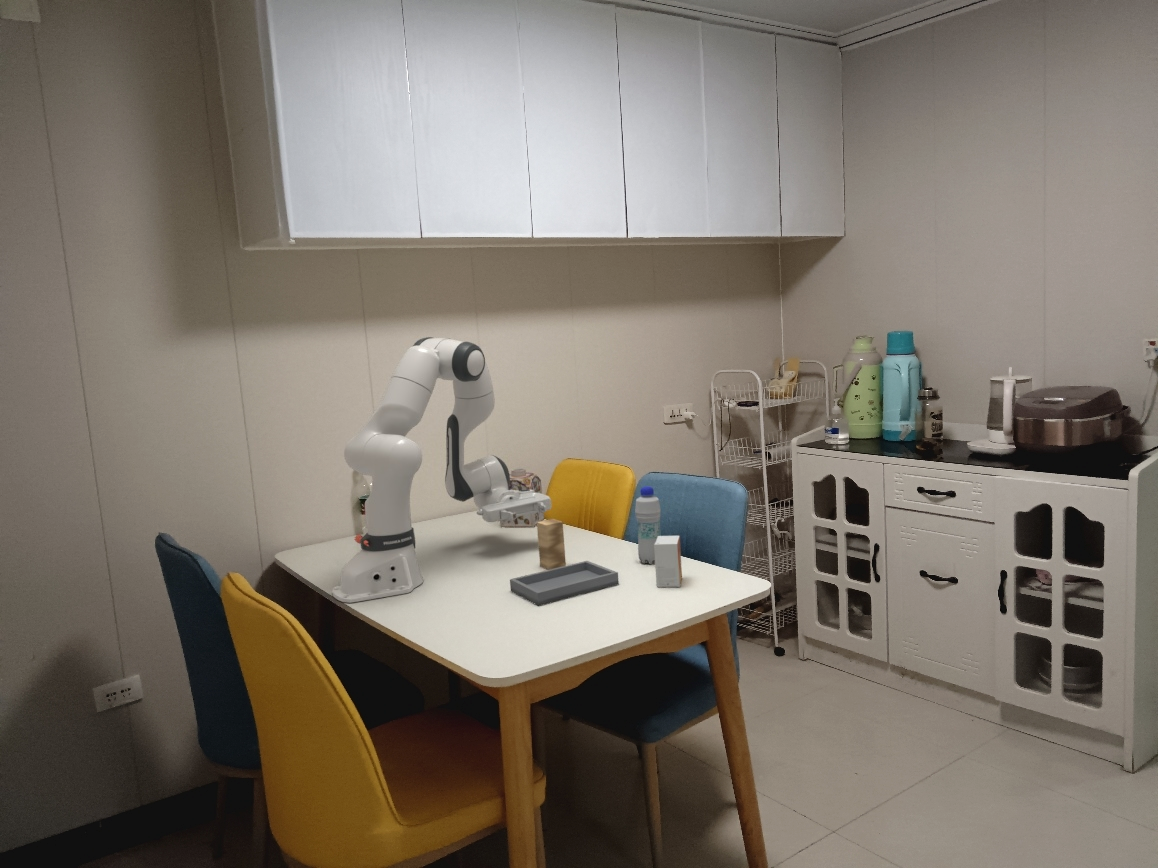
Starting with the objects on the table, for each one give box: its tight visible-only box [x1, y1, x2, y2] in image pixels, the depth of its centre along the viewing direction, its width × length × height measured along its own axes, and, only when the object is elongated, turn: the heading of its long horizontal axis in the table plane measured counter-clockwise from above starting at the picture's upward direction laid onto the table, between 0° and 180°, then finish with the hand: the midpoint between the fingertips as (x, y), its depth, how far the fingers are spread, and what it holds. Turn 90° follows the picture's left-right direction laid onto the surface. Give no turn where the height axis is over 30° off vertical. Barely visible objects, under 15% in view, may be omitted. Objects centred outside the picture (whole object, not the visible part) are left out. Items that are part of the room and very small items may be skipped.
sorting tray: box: [509, 560, 619, 607], centre depth 195 cm, size 22×14×3 cm, turn 122°
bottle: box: [634, 486, 662, 565], centre depth 211 cm, size 7×7×20 cm
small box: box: [654, 535, 683, 588], centre depth 194 cm, size 8×6×10 cm
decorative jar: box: [499, 467, 545, 528], centre depth 264 cm, size 12×12×18 cm
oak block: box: [536, 518, 567, 570], centre depth 214 cm, size 5×5×12 cm
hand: (529, 512), depth 223 cm, fingers open, 8 cm apart
